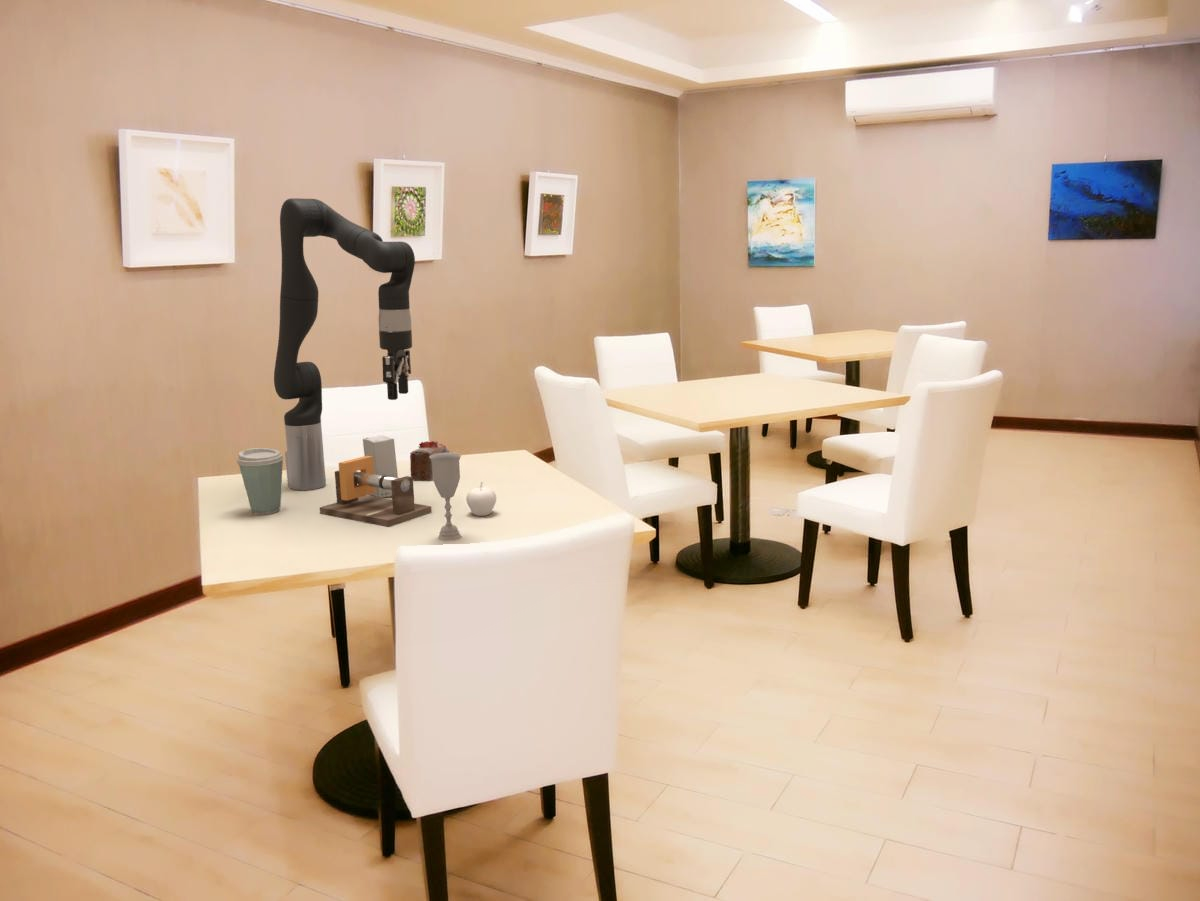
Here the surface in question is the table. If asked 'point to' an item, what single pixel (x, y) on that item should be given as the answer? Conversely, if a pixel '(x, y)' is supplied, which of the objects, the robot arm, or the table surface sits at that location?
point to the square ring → (348, 478)
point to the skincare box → (382, 459)
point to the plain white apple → (481, 500)
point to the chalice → (446, 487)
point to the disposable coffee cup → (262, 478)
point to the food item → (424, 460)
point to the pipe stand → (378, 505)
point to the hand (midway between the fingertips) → (398, 396)
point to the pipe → (378, 481)
